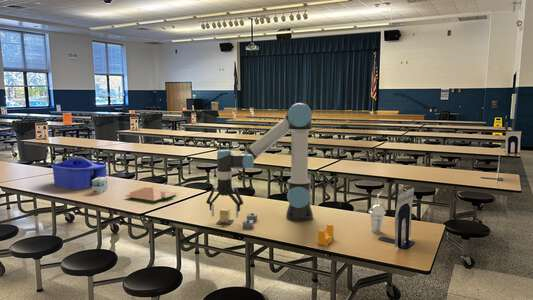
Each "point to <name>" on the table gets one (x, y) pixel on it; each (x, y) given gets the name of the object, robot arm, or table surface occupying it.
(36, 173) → the table surface
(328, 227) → the pipe clamp
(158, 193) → the house
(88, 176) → the caddy
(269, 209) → the table surface
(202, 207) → the table surface
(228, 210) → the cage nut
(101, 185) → the light bulb box
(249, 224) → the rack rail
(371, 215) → the cup with straw
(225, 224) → the rubber mat
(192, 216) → the table surface
